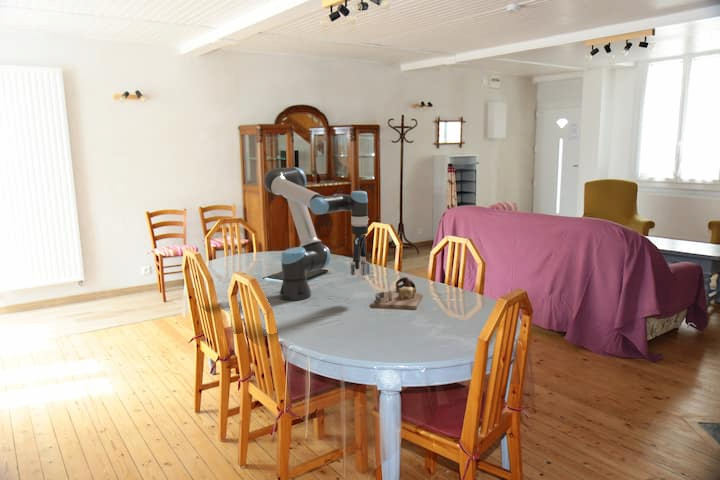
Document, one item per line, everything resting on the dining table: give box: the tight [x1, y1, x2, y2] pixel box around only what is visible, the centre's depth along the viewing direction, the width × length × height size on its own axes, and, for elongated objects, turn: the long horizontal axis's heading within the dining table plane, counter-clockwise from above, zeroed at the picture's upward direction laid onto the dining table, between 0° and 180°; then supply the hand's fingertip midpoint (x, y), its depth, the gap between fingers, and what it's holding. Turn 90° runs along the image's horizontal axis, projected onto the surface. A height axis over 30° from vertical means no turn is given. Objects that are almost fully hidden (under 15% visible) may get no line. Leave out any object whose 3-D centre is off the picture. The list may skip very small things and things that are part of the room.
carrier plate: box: [371, 287, 424, 310], centre depth 259 cm, size 20×20×6 cm
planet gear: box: [350, 261, 371, 277], centre depth 259 cm, size 9×9×5 cm
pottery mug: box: [395, 276, 417, 293], centre depth 277 cm, size 12×10×8 cm
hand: (360, 272), depth 259 cm, fingers closed on planet gear, 9 cm apart
